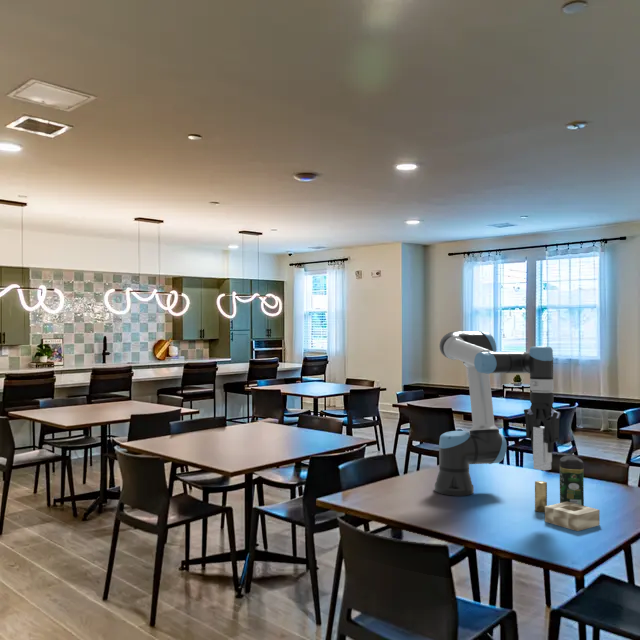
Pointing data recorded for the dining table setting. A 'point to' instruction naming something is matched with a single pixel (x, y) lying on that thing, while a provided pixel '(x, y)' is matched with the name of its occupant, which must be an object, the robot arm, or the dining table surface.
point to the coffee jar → (571, 480)
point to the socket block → (572, 516)
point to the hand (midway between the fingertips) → (542, 461)
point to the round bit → (540, 496)
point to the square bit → (539, 449)
